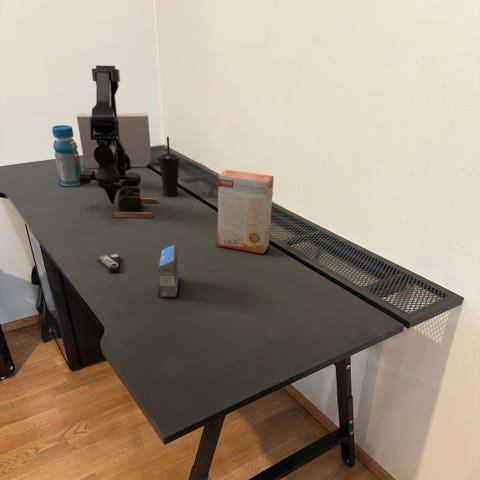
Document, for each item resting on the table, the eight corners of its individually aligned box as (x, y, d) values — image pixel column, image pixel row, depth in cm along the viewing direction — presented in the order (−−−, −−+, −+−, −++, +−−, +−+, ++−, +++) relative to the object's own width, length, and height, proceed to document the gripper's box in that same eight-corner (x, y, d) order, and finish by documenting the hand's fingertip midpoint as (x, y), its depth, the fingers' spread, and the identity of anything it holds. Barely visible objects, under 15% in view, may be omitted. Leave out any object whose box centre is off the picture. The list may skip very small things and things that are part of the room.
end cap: (120, 204, 155) (117, 185, 151) (141, 204, 156) (139, 184, 152) (119, 216, 147) (117, 195, 143) (141, 215, 148) (139, 195, 144)
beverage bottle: (65, 188, 166) (54, 130, 155) (56, 182, 171) (45, 125, 160) (87, 184, 171) (78, 128, 159) (78, 178, 176) (69, 123, 164)
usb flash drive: (119, 271, 117) (119, 268, 116) (98, 273, 116) (97, 269, 115) (119, 256, 124) (119, 253, 123) (99, 257, 123) (99, 254, 122)
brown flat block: (122, 201, 158) (121, 197, 157) (156, 202, 158) (156, 198, 158) (114, 217, 146) (113, 212, 145) (151, 218, 147) (151, 213, 146)
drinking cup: (183, 191, 168) (181, 134, 157) (178, 198, 162) (176, 140, 151) (162, 190, 169) (159, 133, 157) (157, 197, 163) (153, 138, 151)
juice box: (163, 278, 115) (160, 233, 108) (178, 278, 116) (176, 233, 108) (160, 297, 108) (156, 250, 101) (176, 297, 108) (174, 250, 101)
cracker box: (269, 246, 133) (275, 175, 121) (263, 255, 128) (268, 181, 116) (224, 238, 136) (226, 168, 124) (217, 246, 132) (217, 174, 120)
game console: (85, 164, 191) (77, 113, 179) (150, 162, 197) (147, 113, 185) (84, 168, 186) (76, 116, 175) (151, 166, 192) (148, 115, 181)
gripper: (70, 161, 135) (78, 211, 144) (133, 165, 136) (137, 214, 145) (80, 151, 144) (86, 199, 153) (139, 154, 145) (142, 201, 154)
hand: (113, 203), depth 151 cm, fingers closed
